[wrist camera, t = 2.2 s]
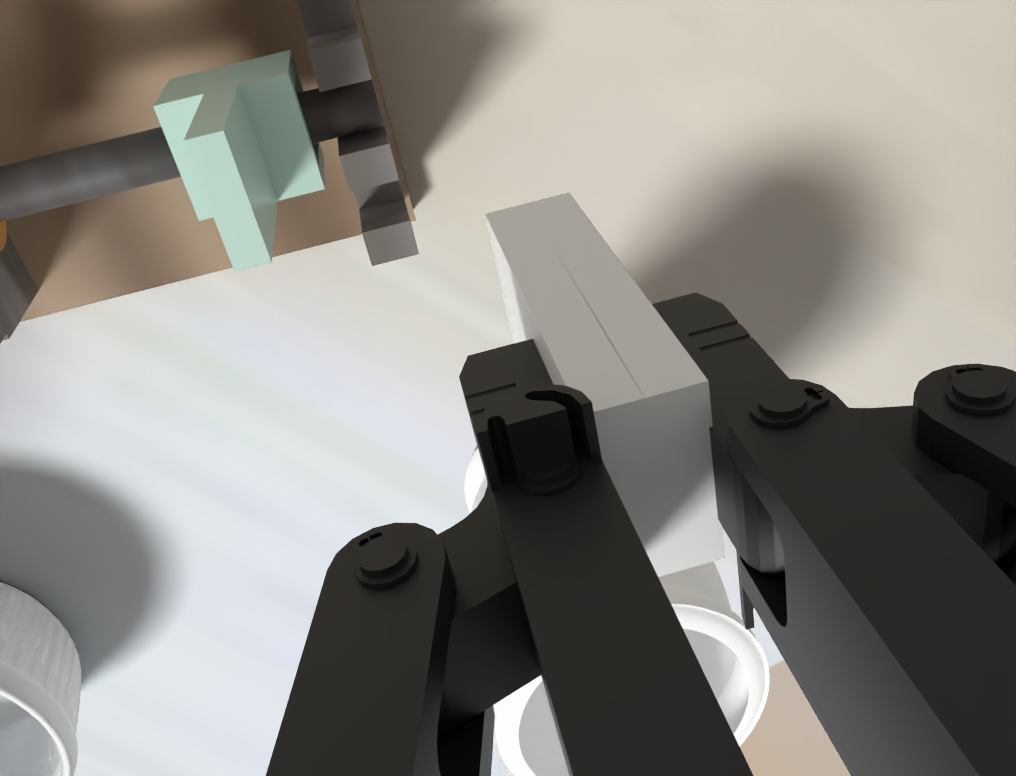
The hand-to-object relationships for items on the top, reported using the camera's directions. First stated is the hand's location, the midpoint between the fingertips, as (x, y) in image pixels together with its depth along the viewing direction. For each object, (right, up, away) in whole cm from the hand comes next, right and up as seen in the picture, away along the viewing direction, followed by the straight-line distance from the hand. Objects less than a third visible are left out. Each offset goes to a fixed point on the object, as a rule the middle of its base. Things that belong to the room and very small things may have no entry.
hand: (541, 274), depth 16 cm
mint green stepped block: (-9, +7, +14) cm, 19 cm away
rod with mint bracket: (-15, +8, +18) cm, 25 cm away
